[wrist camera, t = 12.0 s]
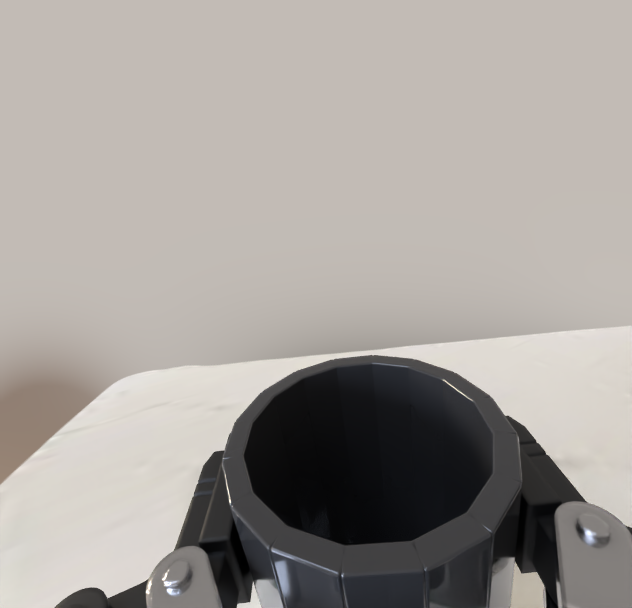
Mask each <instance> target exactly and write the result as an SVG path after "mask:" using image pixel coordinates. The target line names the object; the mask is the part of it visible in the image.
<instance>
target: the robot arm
mask: <svg viewBox="0 0 632 608" xmlns="http://www.w3.org/2000/svg"><path fill="white" fill-rule="evenodd" d="M505 417H506V418H507V420H508V421H509V422H510V424H511V425H512V427H513V428H514V430H515V431H516V433H517V435H518V437H519V447H520V458H521V469H522V480H523V484H522V494H521V504H520V514H519V524H518V534H517V544H516V554H515V562H516V563H517V565H518V567H519V569H520V571H521V573H530V572H537V573H538V575H539V576H540V578H541V580H542V582H543V584H544V590H543V600H544V608H632V528H630V527H627V526H625V525H624V524H623V523H622V522H621V521H620V520H619V519H618V518H616V517H615V516H614V515H612V514H611V513H609V512H608V511H606V510H604V509H602V508H600V507H598V506H595V505H593V504H589V503H587V502H586V501H585V500H584V498H583V497H582V496H581V495H580V494H579V492H578V491H577V490H576V489H575V487H574V486H573V485H572V484H571V483H570V481H569V480H568V479H567V478H566V476H565V475H564V474H563V473H562V472H561V470H560V469H559V468H558V467H557V465H556V464H555V463H554V462H553V461H552V459H551V458H550V457H549V456H548V455H546V453H545V451H544V450H543V448H542V447H541V446H540V445H539V443H537V442H536V440H535V439H534V437H533V436H532V435H531V434H530V432H529V431H528V430H527V429H526V428H525V426H523V425H522V424H520V423H518V422H517V421H515V420H514V419H512V418H511V417H509V416H505ZM230 435H231V433H230ZM230 435H229V437H228V441H229V438H230ZM228 441H227V444H228ZM227 444H226V446H227ZM225 449H226V448H225ZM224 452H225V451H217V452H214V453H213V454H212V456H211V457H210V458H209V459H208V461H207V462H206V463H205V464H204V466H203V469H202V472H201V474H200V477H199V480H198V484H197V486H196V489H195V492H194V497H193V498H192V501H191V503H190V506H189V509H188V512H187V515H186V518H185V521H184V524H183V527H182V530H181V532H180V535H179V538H178V541H177V544H176V547H175V549H174V551H173V552H171V553H170V554H168V555H167V556H166V557H165V558H163V559H162V560H161V561H160V562H159V564H158V565H157V566H156V567H155V569H154V570H153V572H152V574H151V576H150V578H149V579H148V580H146V581H145V582H143V583H141V584H139V585H137V586H135V587H132V588H130V589H128V590H126V591H124V592H121V593H119V594H117V595H115V596H112V597H110V598H108V599H107V597H106V595H105V594H104V592H103V591H102V590H100V589H98V588H85V589H82V590H79V591H77V592H75V593H73V594H71V595H70V596H68V597H67V598H65V599H64V600H62V601H61V602H60V603H59V604H58V605H57V606H56V607H55V608H237V604H238V603H247V602H250V599H251V592H252V584H253V579H252V576H251V572H250V569H249V566H248V563H247V560H246V556H245V553H244V550H243V547H242V544H241V540H240V537H239V534H238V531H237V528H236V525H235V521H234V518H233V515H232V512H231V509H230V505H229V500H228V495H227V489H226V483H225V478H224V472H223V467H222V458H223V455H224Z"/></svg>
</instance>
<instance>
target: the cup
mask: <svg viewBox="0 0 632 608" xmlns="http://www.w3.org/2000/svg"><path fill="white" fill-rule="evenodd" d="M222 467H223V472H224V478H225V483H226V489H227V495H228V500H229V505H230V509H231V512H232V515H233V518H234V521H235V525H236V528H237V531H238V534H239V537H240V540H241V544H242V547H243V550H244V553H245V556H246V560H247V563H248V566H249V569H250V572H251V576H252V579H253V582H254V585H255V588H256V591H257V595H258V598H259V601H260V604H261V607H262V608H510V605H511V595H512V585H513V575H514V564H515V554H516V544H517V534H518V524H519V514H520V504H521V494H522V484H523V480H522V469H521V458H520V447H519V437H518V435H517V433H516V431H515V430H514V428H513V427H512V425H511V424H510V422H509V421H508V420H507V418H506V417H505V415H504V414H503V412H502V411H501V410H500V408H499V407H498V405H497V404H496V402H495V401H494V400H493V398H491V397H490V395H488V394H487V393H485V392H484V391H482V390H481V389H479V388H478V387H476V386H475V385H473V384H472V383H470V382H469V381H467V380H466V379H464V378H463V377H461V376H460V375H458V374H457V373H454V372H452V371H449V370H446V369H443V368H440V367H437V366H434V365H431V364H428V363H425V362H422V361H419V360H414V359H409V358H399V357H389V356H378V355H374V356H373V355H368V356H359V357H350V358H340V359H334V360H329V361H326V362H323V363H320V364H317V365H314V366H311V367H308V368H304V369H301V370H298V371H296V372H293V373H292V374H290V375H289V376H287V377H285V378H284V379H282V380H280V381H279V382H277V383H275V384H274V385H272V386H270V387H269V388H267V389H266V390H264V391H263V392H262V393H260V394H259V395H258V397H257V398H256V399H255V400H254V401H253V402H252V403H251V404H250V405H249V407H248V408H247V409H246V410H245V411H244V412H243V413H242V414H241V416H240V417H239V418H238V419H237V420H236V422H235V423H234V426H233V429H232V432H231V435H230V438H229V441H228V444H227V446H226V449H225V452H224V455H223V458H222Z"/></svg>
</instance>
